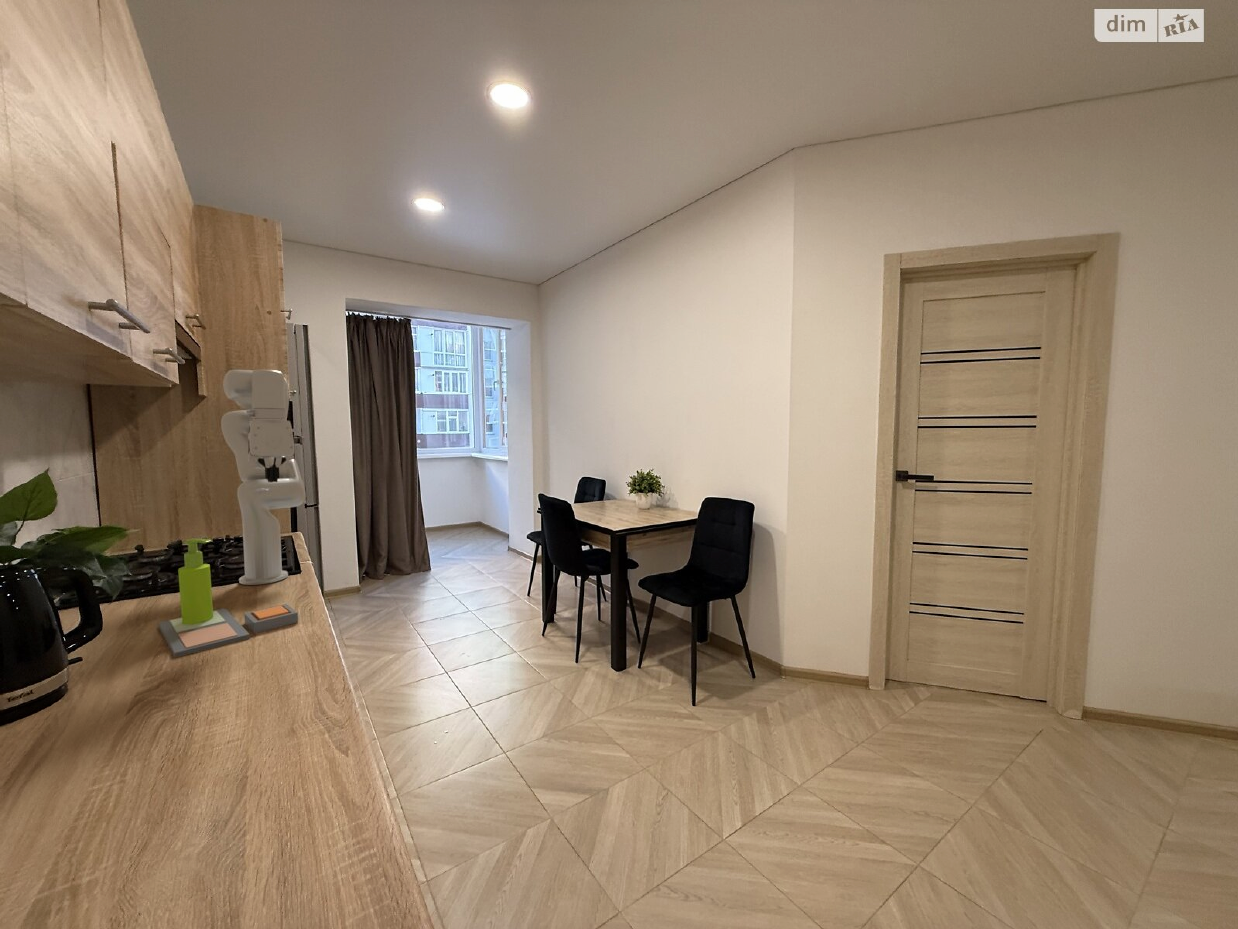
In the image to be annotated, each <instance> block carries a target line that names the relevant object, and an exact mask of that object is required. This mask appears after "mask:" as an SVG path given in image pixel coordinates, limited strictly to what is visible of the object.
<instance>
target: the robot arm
mask: <svg viewBox="0 0 1238 929" xmlns="http://www.w3.org/2000/svg"><path fill="white" fill-rule="evenodd" d="M222 384H223V385H222V386H223V387H222V388H223V392H224V395H225V396H226V397H227V399H228V400H231V401H234V402H235V403H236V405H237V406H239V407H240V408H242V409H243V410H242V409H241V410H232V411H229V412H226V413H225V414H223V415H222V417H221V419H220V426H221V432H222V436H223V438H224V440H225V443H226V444H227V445H228V447H229V448H230V449H231V451H232V452H233V454H234V457H235V461H236V467H237V472H238V475H239V478H240V481H241V482H242V483H241V484H240V485H239V486H238V487H237V493H236V495H237V500H238V505H239V509H240V513H241V521H242V522H241V523H242V524H241V525H242V540H243V557H244V558H243V561H244V564H243V565H244V575H242V576H241V577H239V578H238V581H239V584H241V585H245V586H257V585H267V584H273V583H277V582H280V581H282V580H285V579H287V578H288V576H289V572H288V571H287V570H283V566H282V562H283V561H282V541H281V524H280V521H279V519H278V518H277V517H276V516H275V515H273V514H272V513H271V512H270V510H276V509H286V508H287V509H289V508H296V507H300V506H301V505H302V504H304V502H305V501H306V500H305V499H306V489H305V485H304V481H303V479H302V475H301V472H300V468H299V465H298V462H297V461H296V459H295V456H294V454H295V442H294V440H295V439H294V435H293V434H294V432H293V428H292V423H291V421H290V420H287V418H288V414H289V412H288V411H289V406H290V405H289V404H290V400H289V399H290V398H289V393H288V381H287V379H286V378H285V374H284V373H283V372H281V371H280V370H276V369H275V370H274V369H255V370H252V369H251V370H250V369H230V370H228V371H227V372H226V373H225V374H224V377H223V381H222Z"/></svg>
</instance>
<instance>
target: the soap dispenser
mask: <svg viewBox="0 0 1238 929" xmlns="http://www.w3.org/2000/svg"><path fill="white" fill-rule="evenodd" d="M212 541H213V540H212V539H208V538H203V537H198V538H197V537H196V538H188V539H185V540H183V544H187V550H188V551H187V552H185V553H184V554H183V556H184V557H183V558H184V566H182V567H180V568H178V569H177V570H178V571H177V572H178V585H179V586H178V587H179V598H180V599H179V600H180V613H181V617H182V623H183V624H196V623H201V622H204V621H207V620H210V619H212V618H213V611H214V606H213V605H214V604H213V591H212V579H211V577H212V576H211V565H210V564H208V563H204V558H203V557H204V555H203V551H201V550H198V543H199V544H207V543H211V542H212Z"/></svg>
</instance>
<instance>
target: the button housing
mask: <svg viewBox="0 0 1238 929" xmlns="http://www.w3.org/2000/svg"><path fill="white" fill-rule="evenodd" d="M277 606H282V607H284V608H285V609H286V610H287V611H289V613H288V614H284V615H280V616H276V617H272V618H267V619H263V620H259V621H258V620H257V619H256V618H255V617H254V616H253V612H255V611H260V610H264V609H268V608H273V607H277ZM243 614H244V618H243V619H244V624H245V625H246V626H247V627H248V629H250V630H251V632H253V633H254V634H257V633H262V632H266V631H269V630H273V629H277V628H281V627H286V626H289V625H293V624H296V623H299V612H298V611H297V610H295V609H294V608H292V607H291V606H290V605H289V604H287V603H284V604H280V605H279V604H278V605H276V606H275V605H274V606H271V607H267V608H262V609H261V608H260V609H258V610H253V611H249V612H244V613H243Z"/></svg>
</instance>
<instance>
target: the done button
mask: <svg viewBox="0 0 1238 929" xmlns="http://www.w3.org/2000/svg"><path fill="white" fill-rule="evenodd" d="M276 606H277V607H274V606H272V607H273V608H270V607H267V608H268V609H265V608H263V609H264V610H261V609H259V610H260V611H256V610H254V611H255V612H253V616H254V617H255V618H256V619H257V620H258V621H259V620H263V619H267V618H272V617H276V616H280V615H284V614H288V613H289V611H287V610H286V609H285V608H284V607H282V606H279V605H276Z"/></svg>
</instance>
